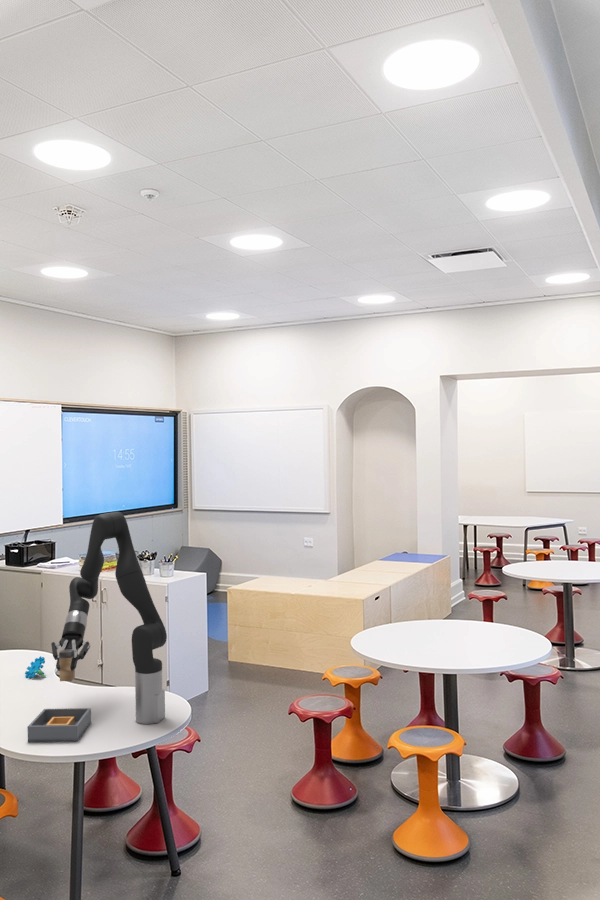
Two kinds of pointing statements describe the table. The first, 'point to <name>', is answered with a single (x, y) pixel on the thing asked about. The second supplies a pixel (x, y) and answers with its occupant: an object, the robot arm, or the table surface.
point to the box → (59, 725)
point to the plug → (66, 665)
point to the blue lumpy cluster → (35, 668)
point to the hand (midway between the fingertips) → (65, 669)
